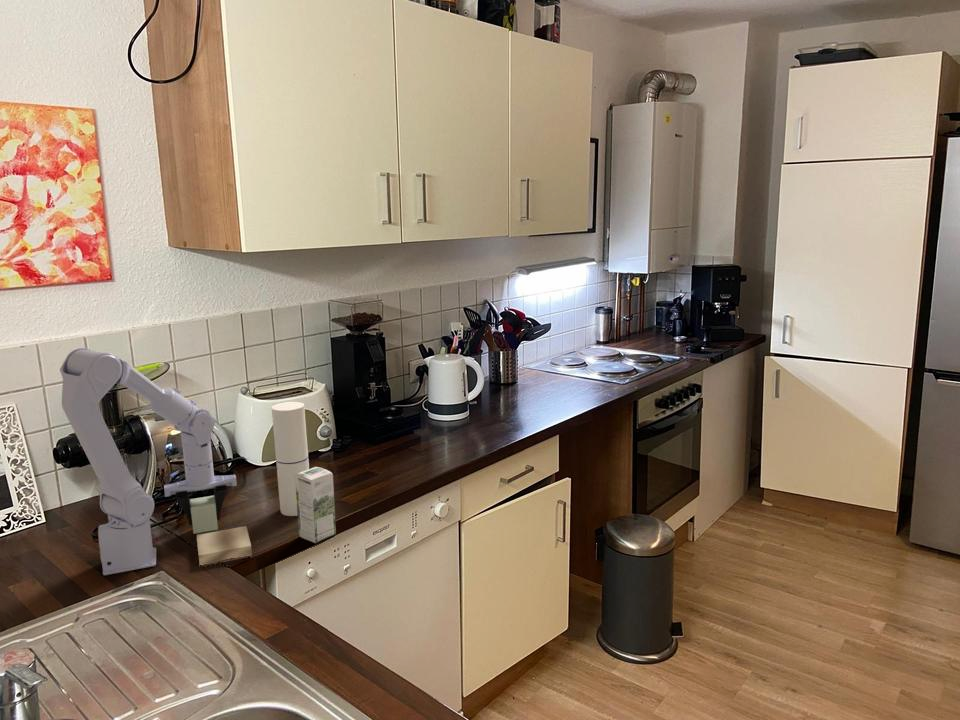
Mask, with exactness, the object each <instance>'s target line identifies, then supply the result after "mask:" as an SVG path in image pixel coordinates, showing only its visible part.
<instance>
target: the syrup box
mask: <svg viewBox="0 0 960 720" xmlns="http://www.w3.org/2000/svg"><path fill="white" fill-rule="evenodd" d="M295 486H296V500H297V514H298V516H297V525H298V526H297V527H298V528H297V529H298V536H299V537H300V538H301V539H304V540H306V541H309V542H311V543H314V544H317V543H319V542H322V541H323V540H326V539H328V538H330V537H333V536H335V535H336V533H337V530H336V529H337V528H336V525H337V524H336V511H335V510H336V508H335V491H334V489H335V488H334V474H333V473H332V472H331V471H330V470H329V469H325V468H323V467H319V466H314V467H312V468H309V469H308V470H306V471H303V472H300V473H297V474H295Z"/></svg>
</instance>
